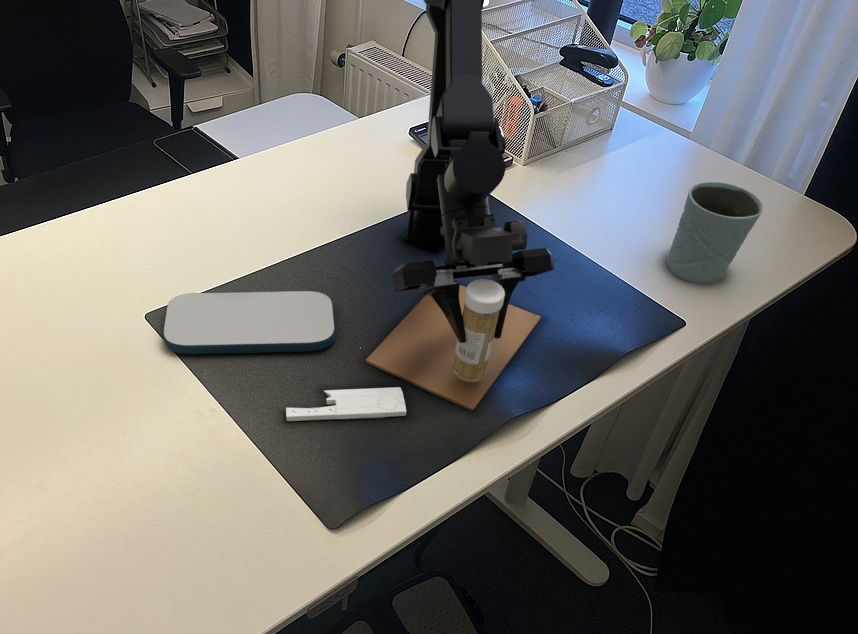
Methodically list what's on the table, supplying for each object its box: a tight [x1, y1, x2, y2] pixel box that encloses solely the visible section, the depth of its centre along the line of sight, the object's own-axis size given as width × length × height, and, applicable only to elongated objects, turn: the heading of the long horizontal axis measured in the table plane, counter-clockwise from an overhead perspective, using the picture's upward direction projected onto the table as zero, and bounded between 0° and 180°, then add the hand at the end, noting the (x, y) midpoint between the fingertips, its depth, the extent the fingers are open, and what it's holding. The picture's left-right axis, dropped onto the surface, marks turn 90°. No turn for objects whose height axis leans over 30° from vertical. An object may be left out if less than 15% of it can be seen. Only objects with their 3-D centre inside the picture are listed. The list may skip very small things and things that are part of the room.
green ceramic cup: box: [666, 181, 764, 285], centre depth 113 cm, size 10×10×12 cm
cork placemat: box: [365, 282, 542, 412], centre depth 105 cm, size 16×22×1 cm
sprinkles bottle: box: [452, 278, 505, 382], centre depth 93 cm, size 5×5×14 cm
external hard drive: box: [162, 290, 336, 355], centre depth 106 cm, size 24×12×2 cm, turn 93°
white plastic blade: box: [285, 386, 407, 422], centre depth 96 cm, size 5×15×1 cm, turn 94°
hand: (480, 340), depth 92 cm, fingers closed on sprinkles bottle, 4 cm apart
